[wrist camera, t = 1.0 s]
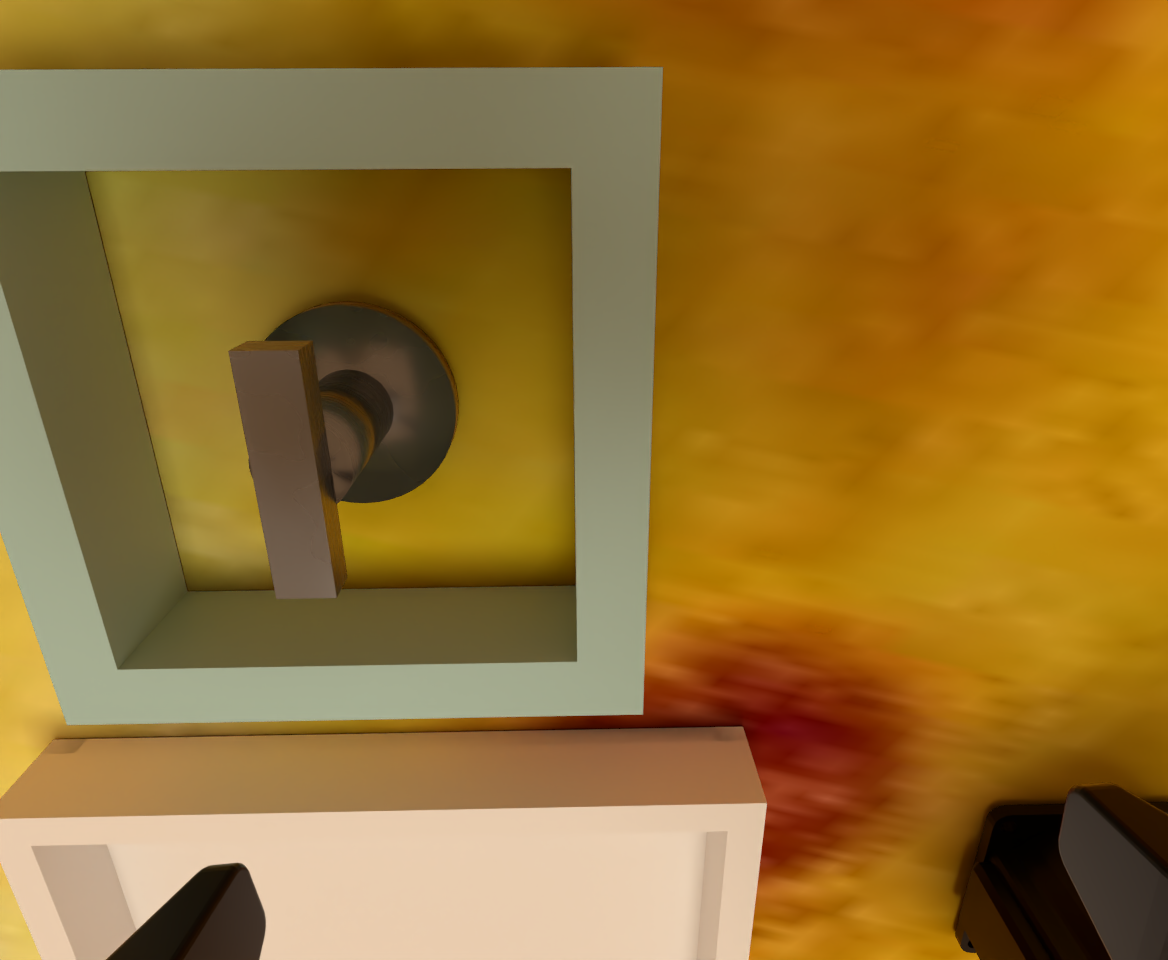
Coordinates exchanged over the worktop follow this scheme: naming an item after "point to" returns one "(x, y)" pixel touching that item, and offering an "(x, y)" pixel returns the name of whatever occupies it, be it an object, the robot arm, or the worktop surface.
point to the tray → (402, 841)
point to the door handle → (337, 429)
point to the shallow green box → (123, 447)
